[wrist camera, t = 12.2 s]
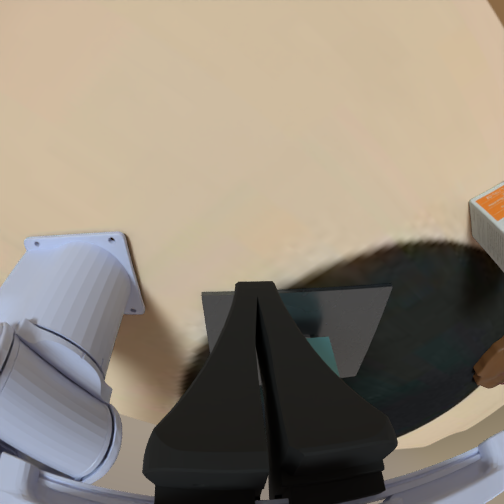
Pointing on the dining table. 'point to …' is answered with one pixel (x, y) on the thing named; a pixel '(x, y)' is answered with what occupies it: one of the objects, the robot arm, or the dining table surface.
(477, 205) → the skincare box
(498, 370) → the plant
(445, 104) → the dining table surface
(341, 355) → the dark grey square tile
